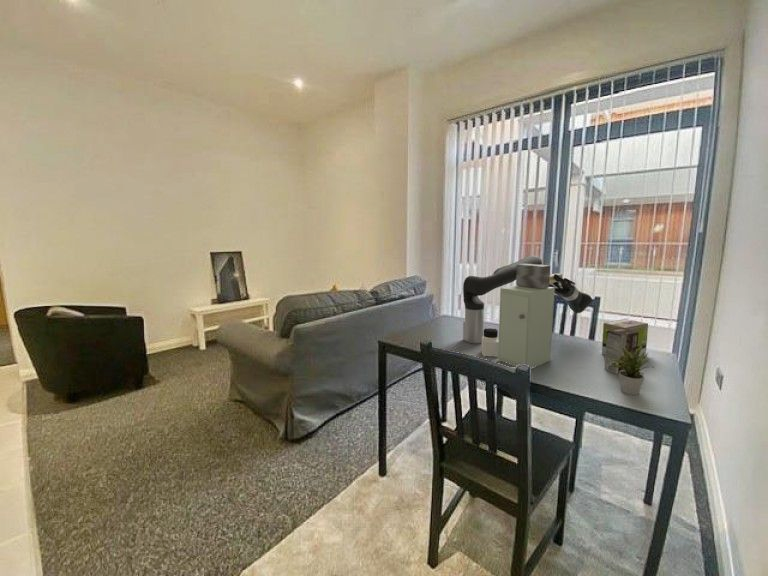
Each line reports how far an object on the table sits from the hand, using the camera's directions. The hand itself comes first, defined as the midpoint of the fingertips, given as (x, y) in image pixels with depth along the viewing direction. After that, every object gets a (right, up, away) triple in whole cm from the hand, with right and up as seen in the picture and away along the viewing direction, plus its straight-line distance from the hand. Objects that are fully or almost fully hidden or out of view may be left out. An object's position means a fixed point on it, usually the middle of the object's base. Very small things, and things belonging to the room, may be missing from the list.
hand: (551, 275), depth 154 cm
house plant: (+12, -41, -32) cm, 54 cm away
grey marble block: (-4, -4, -2) cm, 6 cm away
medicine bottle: (-26, -36, +4) cm, 45 cm away
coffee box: (+19, -38, -16) cm, 46 cm away
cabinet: (-14, -37, -4) cm, 40 cm away
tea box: (+32, -35, 0) cm, 48 cm away
